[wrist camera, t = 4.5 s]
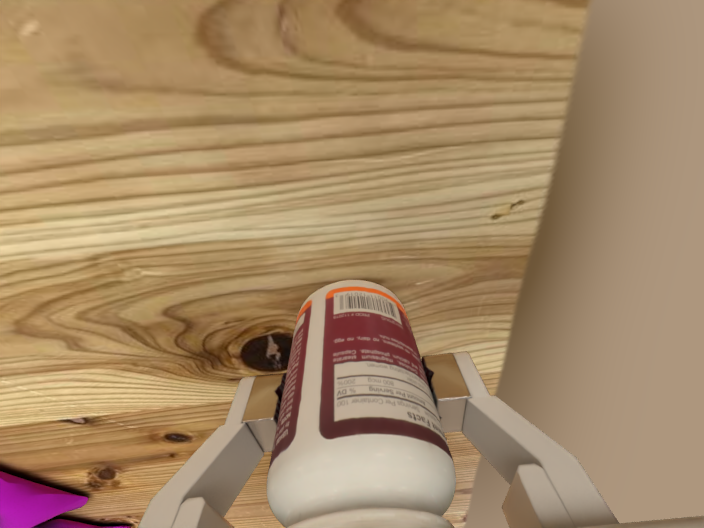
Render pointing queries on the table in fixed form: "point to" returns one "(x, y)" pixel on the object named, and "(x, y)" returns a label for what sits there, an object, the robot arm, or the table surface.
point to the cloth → (37, 505)
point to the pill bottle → (358, 419)
